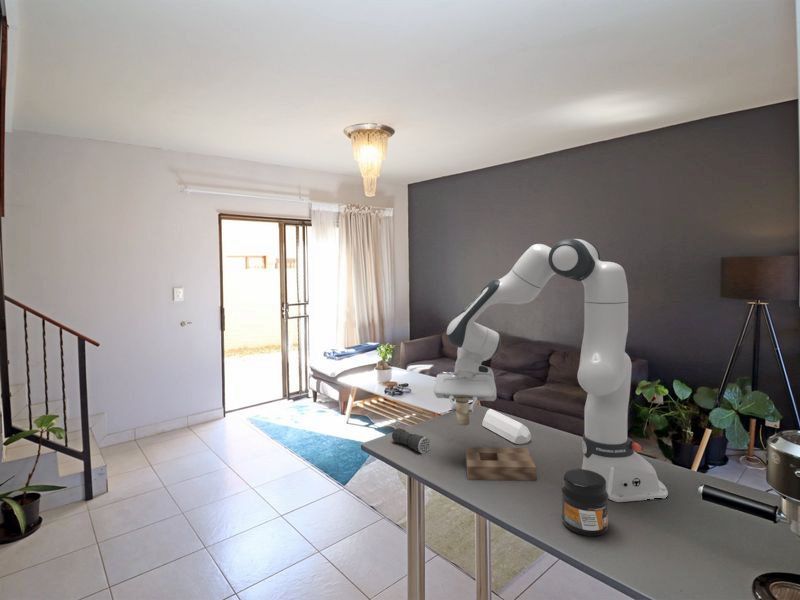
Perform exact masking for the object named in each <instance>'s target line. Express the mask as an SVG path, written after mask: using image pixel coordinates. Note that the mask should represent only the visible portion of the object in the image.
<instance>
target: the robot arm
mask: <svg viewBox="0 0 800 600" xmlns="http://www.w3.org/2000/svg"><path fill="white" fill-rule="evenodd" d="M556 274H557V275H559V276H560V277H563V278H565V279H569V280H573V281H576V282H581V283H582V285H583V289H584V312H583V313H584V317H583V319H584V322H583V325H584V326H583V327H584V328H583V329H584V330H583V337H582V343H581V350H580V356H579V357H580V358H579V365H578V370H577V382H578V384H579V386H580V387H581V388H582V389H583V391H585V392H586V393H587V394H586V401H585V405H584V433H583V434H582V447H581V448H582V453H583V456H582V457H583V459H582V465H581V469H585V470H590V471H593V472H596V473H598V474H600V475H601V476H603V477H604V478H605V480H606V491H607V493H608V496H609V499H608V500H611V501H613V502H615V503H625V502H635V501H636V502H637V501H648V500H647V499H650V500H655V499H654V498H662V499H667V498H668V497H667V496H669V492H668V489H667V487H666V486H665V484H664V483H663V482H662V481H661V480H659V479H658V475H657V472H656V470H655V468H654V466H653V465H652V464H651V463H650V462H648V461H647V460H646V459H645V458H644V457H643V456H642V455H640V454H638V453H641V451H642V449H643V448H642V446H641V445H640V444H639V443H637V442H635V441H634V440H633V439H632V438H630V437H628V413H629V411H628V410H629V404H630V403H629V402H630V393H631V383H632V382H631V381H632V365H633V364H632V361H631V358H630V356H629V354H628V353H627V352H626V343H627V337H628V332H629V290H628V282H627V281H628V280H627V275H626V272H625V269H624V268H623V266H622V265H621V264H618V263H616V262H613V261H602V260H601V254H600V251H599V249H598V248H597V246H595V245H594V244H593V243H592V242H589V241H586V240H584V239H580V238H564V239H562V240H559V241H558V242H556V243H555V244H554V245H553V246H552V247H550V246H548V245H546V244H543V243H536V244H535V243H534V244H532V245H531V246H530V247H529V248H528V249H526V251H524V253H523V254H522V255H521V256H520V257H519V258H518V260H517V261H516V262H515V264H514V265H513V267H512V268H511V270H510V271H509V272H508V273H506V275H504V276H502V277H501V278H499V279H493V280H491V281H490V282H488V283H487V284H486V285H485V286H484V288H482V290H481V291H480V292H479V293H478V294H477V295H476V296H475V297H474V298H473V299H472V300H471V301H470V303H468V305H467V306H466V307H465V308H464V309H463V310H462V311H461V312H460V313H459V314H457V315H456V316H455V317H453V319H452V320H451V321H450V323H449V324H448V326H447V328H446V330H445V334H446V338H447V341H448V342H449V344H450V345H451V346H453V347H457V352H456V355H457V358H456V361H455V362H454V363H455V364H454V371H441V372H440V373H438V374H437V375H436V376H435V377H436V378H435V384H434V388H433V393H434V395H435V397H436V398H437V399H448V400H449V401H450V403H451V404H450V405H451V407H450V409H451V411H453V412H456V403H455V402H456V398H457V397H467V398H469V401H472V402H471V404H469V405H468V411H469V413H474V409H475V408H476V406H477V405H478V404H479V401H482V402H484V401H487V402H494V401H495V400H496V399H497V385H496V382H495V375H494V371H493V369H492V368H491V367H489V366H485V365H482V363H483V362H486V361H488V360H489V361H490V360H491V359H492V358H496V356H498V354H499V353H500V352H501V346H502V339H501V336H500V333H499V332H497V331H496V330H494V329H491V328H489V327H487V326H484V325H482V324H479V323H478V322H475V321H476V320H477V319H478V317H480V315H482V314H483V313H484V311H485V310H486V309H487V308H488V307H489V306H490V307H491V306H492V305H496V304H508V305H509V304H510V305H511V304H512V305H524V304H528V303H530V302H533V300H535V299H536V298H537V297H538V295H539V294H540V293H541V292H542V290H543V289H544V287H545V286H546V284H547V283H548V281H549V280H550V279H551V278H552V277H553V276H554V275H556ZM666 497H667V498H666Z"/></svg>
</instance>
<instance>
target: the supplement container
mask: <svg viewBox="0 0 800 600" xmlns="http://www.w3.org/2000/svg"><path fill="white" fill-rule="evenodd" d="M560 492H561V520H562V523H563V524H564V525H565V527H567V528H568V529H569V530H571V531H572V532H574V533H577V535H582V536H587V537H596V536H600V535H603V534H604V533H606V532H607V530H608V529H609V528H608V527H609V500H610V499H609V496H608V493H607V491H606V480H605V478H604V477H603V476H601V475H600V474H598V473H596V472H593V471H590V470H585V469H582V468H574V469H569V470H567V471H565V472H564V473H563V484H562V485H561V491H560Z"/></svg>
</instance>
